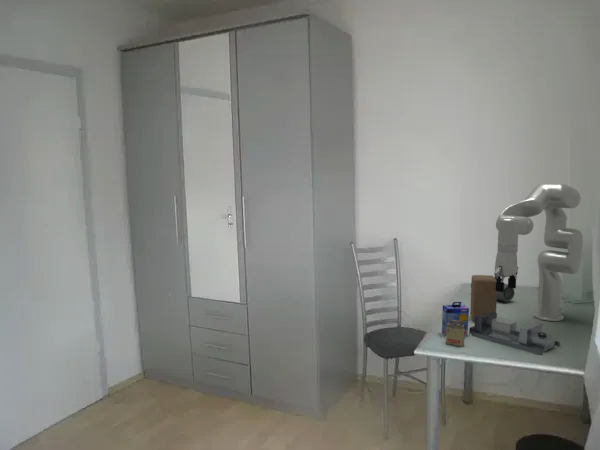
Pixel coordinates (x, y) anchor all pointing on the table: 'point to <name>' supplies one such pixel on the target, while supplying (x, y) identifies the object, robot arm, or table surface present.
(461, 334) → the lighter
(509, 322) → the steel block
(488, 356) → the table surface
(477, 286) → the block
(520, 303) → the table surface
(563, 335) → the table surface
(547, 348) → the sliding jaw
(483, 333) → the frame
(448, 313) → the ink cartridge box
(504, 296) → the bluetooth speaker
